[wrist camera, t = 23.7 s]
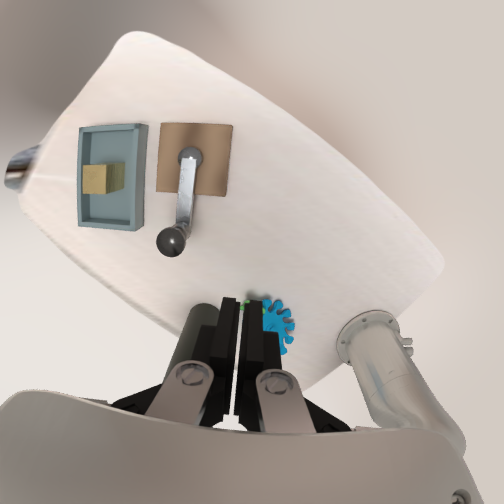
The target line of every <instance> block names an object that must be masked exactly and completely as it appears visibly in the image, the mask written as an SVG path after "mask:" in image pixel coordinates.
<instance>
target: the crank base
mask: <svg viewBox="0 0 504 504" xmlns="http://www.w3.org/2000/svg"><path fill="white" fill-rule="evenodd" d="M232 128H233V126H232V125H221V124H200V123H161V128H160V138H159V151H158V165H157V183H156V192H170V193H178V190H179V180H180V171H181V167H180V165H179V163H178V155H179V153H180V151H181V150H182V149H184V148H186V147H195V148H197V149H199V150H200V152H201V153H202V156H203V160H202V163H201V165H200V166H199V167H198V168H197V174H196V182H195V191H194V194H198V195H211V196H222V197H225V195H226V190H227V179H228V168H229V158H230V148H231V138H232Z"/></svg>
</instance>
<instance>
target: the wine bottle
mask: <svg viewBox="0 0 504 504" xmlns="http://www.w3.org/2000/svg"><path fill="white" fill-rule="evenodd" d="M219 313H220V311H219V310H218V309H217V308H216V307H214V306H212V305H210V304H198V305H196V306H194V307H193V308H192V309H191V311H190V313H189V316H188V318H187V321H186V323H185V326H184V328H183V331H182V333H181V336H180V338H179V341H178V343H177V346H176V349H175V352H174V354H173V356H172V359H171V361H170V364H169V367H168V369H167V372H166V375H165V377H164V380H163V383H164V382H165V380H166V379H167V377H168V375H169V374H170V372H171V371H172V369H173V368H174V367H175V366H176V365H177V364H179V363H180V362H184V361H190V360H191V356H192V353H193V350H194V347H195V343H196V340H197V337H198V334H199V330H200V327H201V325H202V324H206V325H214V326H217V322H218V317H219Z"/></svg>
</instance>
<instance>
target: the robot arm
mask: <svg viewBox="0 0 504 504" xmlns="http://www.w3.org/2000/svg"><path fill="white" fill-rule="evenodd" d="M239 313H240V302H236V298H228V297H223V300H222V304H221V309H220V313H219V317H218V322H217V326H214V325H206V324H202V325H201V327H200V330H199V334H198V337H197V340H196V343H195V347H194V350H193V353H192V356H191V360H190V361H184V362H180V363H179V364H177V365H176V366H175V367H174V368H173V369H172V371H171V372H170V374H169V375H168V377H167V379H166V380H165V382H164V383H162V384H159V385H157V386H154V387H151V388H149V389H146V390H144V391H141V392H138V393H136V394H133V395H131V396H128V397H125V398H122V399H119V400H117V401H116V402H114V403H113V404H108V402H107V401H105V400H96V399H88V398H80V397H75V396H72V395H68V394H64V393H60V392H54V391H48V390H23V391H20V392H17V393H15V394H14V395H12V396H11V397H9V398H8V399H7V400H6V401H5V402H4V403H3V404H2V405H1V406H0V504H484V502H483V500H482V498H481V496H480V493H479V491H478V489H477V487H476V484H475V482H474V480H473V478H472V475H471V473H470V471H469V469H468V467H467V465H466V463H465V461H464V459H463V455H464V453H465V450H466V440H465V437H464V435H463V433H462V431H461V429H460V428H459V426H458V425H457V424H456V423H455V421H454V420H453V419H452V418H451V417H450V416H449V414H448V413H447V412H446V411H445V410H444V408H443V407H442V406H441V405H440V403H439V402H438V401H437V399H436V398H435V396H434V394H433V393H432V392H431V390H430V388H429V387H428V385H427V383H426V382H425V380H424V378H423V377H422V375H421V374H420V372H419V370H418V369H417V367H416V366H415V364H414V363H413V361H412V359H411V358H410V357H411V356H412V355H413V348H412V347H403V345H411V344H412V338H402V337H401V336H400V329H399V325H398V322H397V321H396V319H395V318H394V317H393V316H392V315H391V314H389V313H387V312H383V311H370V312H367V313H363V314H361V315H359V316H357V317H356V318H354V319H353V320H351V321H350V322H349V323H348V324H347V325H346V326H345V327H344V328H343V330H342V331H341V333H340V335H339V337H338V340H337V351H338V354H339V356H340V358H341V360H342V361H343V362H344V363H346V364H347V365H350V366H352V367H353V369H354V372H355V374H356V377H357V380H358V382H359V385H360V388H361V391H362V393H363V396H364V399H365V402H366V404H367V407H368V410H369V413H370V416H371V418H372V419H373V421H374V422H375V423H376V424H377V425H378V426H379V427H382V428H371V427H360V426H356V427H355V429H350V427H349V426H348V425H347V424H345V423H344V422H342V421H341V420H339V419H338V418H336V417H334V416H333V415H331V414H329V413H328V412H326V411H325V410H323V409H321V408H320V407H318V406H317V405H315V404H314V403H312V402H311V401H309V400H307V399H306V398H304V397H303V395H302V392H301V389H300V386H299V384H298V381H297V380H296V378H295V377H294V376H293V375H292V374H291V373H289V372H287V371H284V370H282V364H281V354H280V343H279V334H278V332H274V331H263V302H262V301H257V300H250V302H249V303H244V313H243V322H242V332H241V341H240V351H239V361H238V372H237V383H236V394H235V405H234V415H237V416H239V423H240V424H242V425H243V426H244V427H245V428H246V429H247V431H238V430H228V429H219V428H213V425H215V424H217V423H219V422H223V415H224V414H226V415H229V409H230V400H231V391H232V382H233V373H234V364H235V354H236V344H237V333H238V323H239Z"/></svg>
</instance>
